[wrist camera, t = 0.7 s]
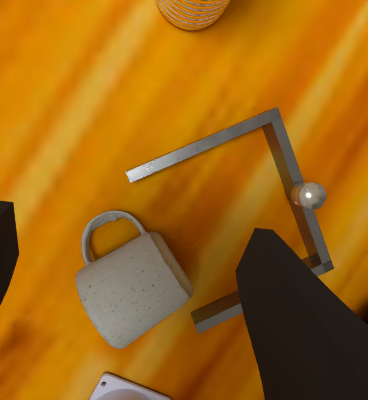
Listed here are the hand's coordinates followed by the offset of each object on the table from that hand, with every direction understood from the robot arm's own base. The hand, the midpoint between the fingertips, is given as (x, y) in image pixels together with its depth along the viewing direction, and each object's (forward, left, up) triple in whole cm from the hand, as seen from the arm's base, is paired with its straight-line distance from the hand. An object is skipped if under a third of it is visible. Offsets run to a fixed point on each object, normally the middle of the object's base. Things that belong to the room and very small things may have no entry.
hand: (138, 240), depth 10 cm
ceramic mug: (-7, -3, -22) cm, 24 cm away
